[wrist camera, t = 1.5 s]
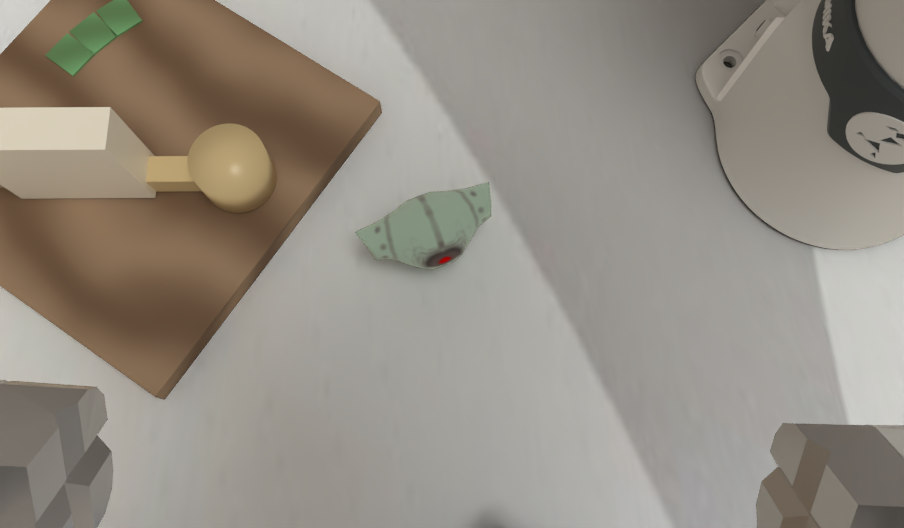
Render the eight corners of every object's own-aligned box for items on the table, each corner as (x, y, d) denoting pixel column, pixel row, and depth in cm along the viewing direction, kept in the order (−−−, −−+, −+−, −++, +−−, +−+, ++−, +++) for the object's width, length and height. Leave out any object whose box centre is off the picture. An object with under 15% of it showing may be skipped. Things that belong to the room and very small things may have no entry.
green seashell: (480, 200, 48) (485, 156, 41) (506, 259, 47) (515, 223, 40) (360, 246, 47) (346, 208, 40) (383, 306, 46) (373, 278, 39)
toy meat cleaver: (278, 145, 47) (250, 89, 40) (274, 212, 46) (244, 167, 39) (-12, 146, 47) (-90, 90, 40) (-23, 214, 45) (-105, 168, 39)
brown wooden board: (119, -49, 52) (109, -66, 51) (381, 112, 49) (379, 100, 48) (-111, 201, 47) (-131, 192, 46) (164, 399, 44) (154, 396, 43)
